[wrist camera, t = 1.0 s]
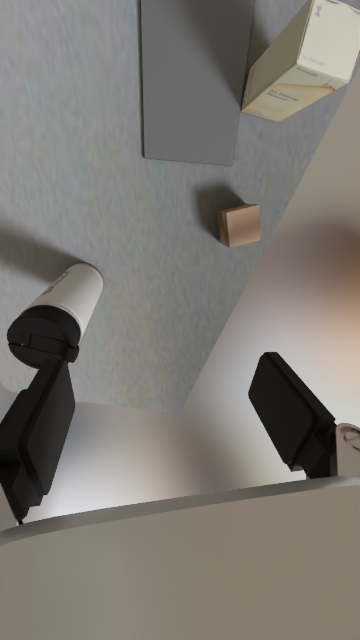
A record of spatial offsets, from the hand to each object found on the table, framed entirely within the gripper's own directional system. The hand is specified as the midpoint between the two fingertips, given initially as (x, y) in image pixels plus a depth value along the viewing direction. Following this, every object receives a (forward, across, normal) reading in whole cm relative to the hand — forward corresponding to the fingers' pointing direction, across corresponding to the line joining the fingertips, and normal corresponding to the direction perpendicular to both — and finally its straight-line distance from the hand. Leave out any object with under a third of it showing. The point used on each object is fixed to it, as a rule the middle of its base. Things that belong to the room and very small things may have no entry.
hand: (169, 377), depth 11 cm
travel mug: (+31, +11, +6) cm, 33 cm away
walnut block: (+31, -14, -5) cm, 34 cm away
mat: (+31, -5, -21) cm, 37 cm away
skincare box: (+31, -15, -21) cm, 40 cm away
